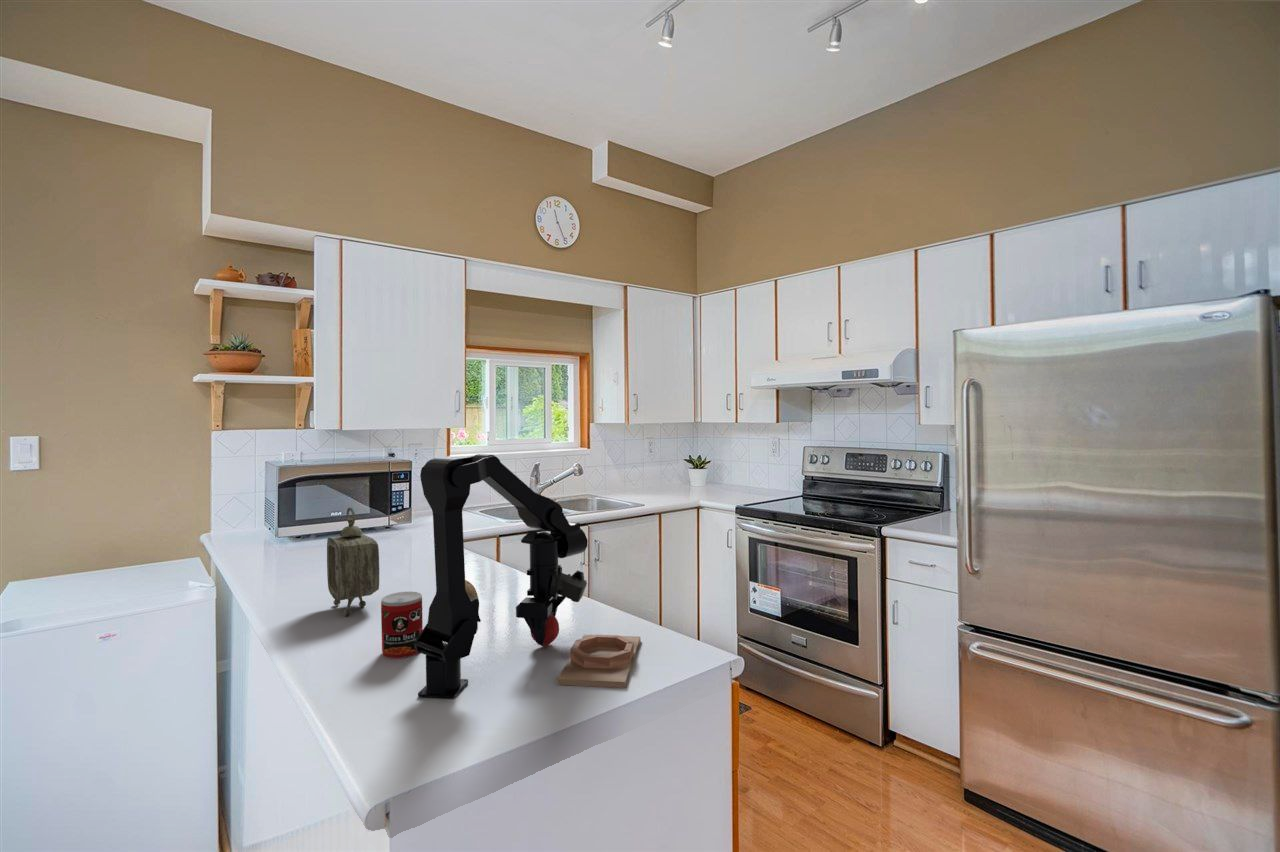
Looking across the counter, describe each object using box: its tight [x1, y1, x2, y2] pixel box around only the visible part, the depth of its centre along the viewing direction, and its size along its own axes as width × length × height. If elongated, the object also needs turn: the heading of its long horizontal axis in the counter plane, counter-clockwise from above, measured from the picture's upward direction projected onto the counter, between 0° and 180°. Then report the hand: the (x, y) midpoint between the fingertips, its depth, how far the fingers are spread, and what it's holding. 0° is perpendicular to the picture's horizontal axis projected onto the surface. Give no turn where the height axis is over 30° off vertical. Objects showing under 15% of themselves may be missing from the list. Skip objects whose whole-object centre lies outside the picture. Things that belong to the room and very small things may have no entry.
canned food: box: [380, 591, 424, 659], centre depth 124 cm, size 8×8×11 cm
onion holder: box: [556, 634, 642, 689], centre depth 118 cm, size 22×12×3 cm, turn 173°
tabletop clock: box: [326, 507, 380, 617], centre depth 152 cm, size 14×9×25 cm, turn 37°
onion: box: [529, 615, 560, 648], centre depth 125 cm, size 6×6×8 cm
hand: (544, 639), depth 126 cm, fingers closed on onion, 6 cm apart
